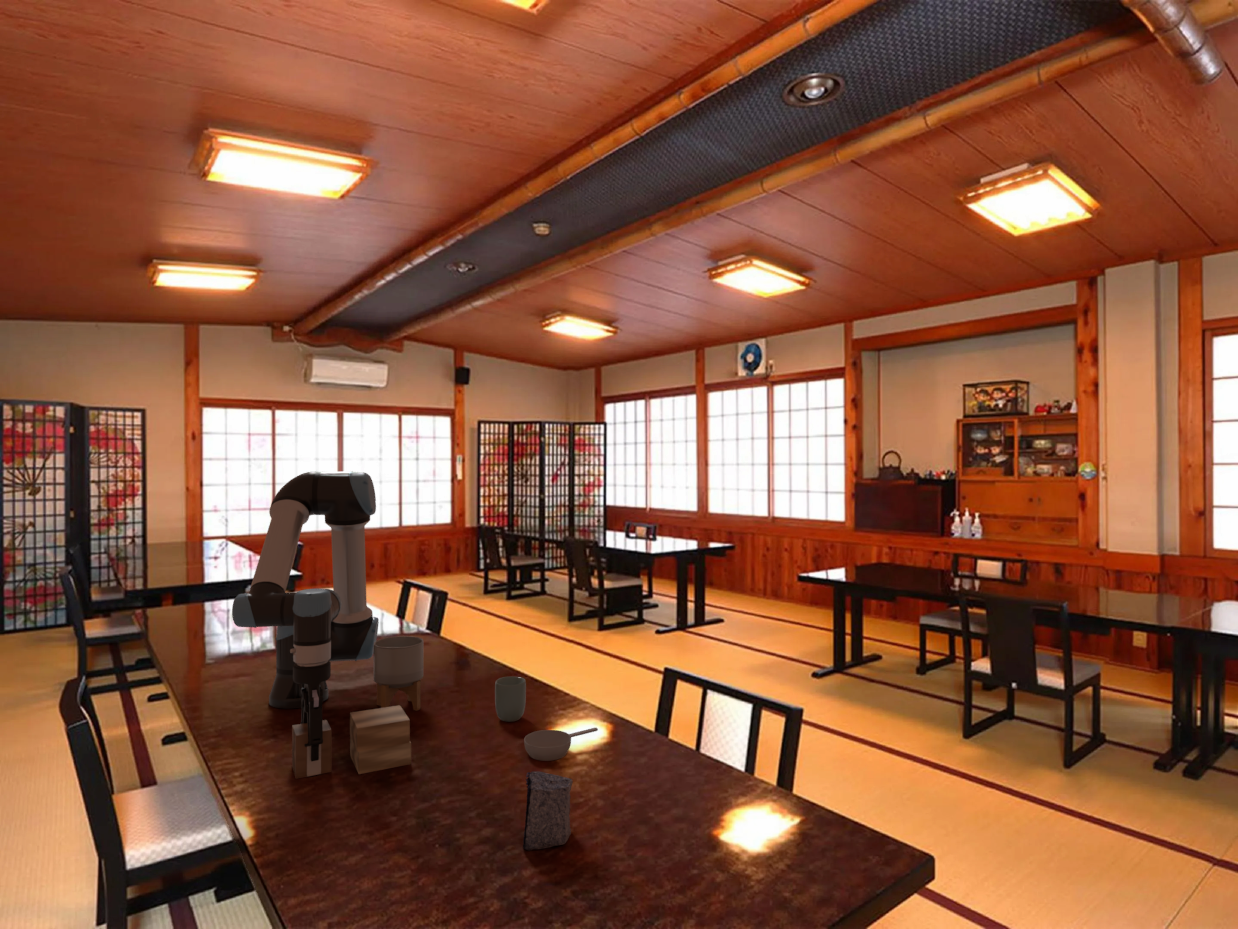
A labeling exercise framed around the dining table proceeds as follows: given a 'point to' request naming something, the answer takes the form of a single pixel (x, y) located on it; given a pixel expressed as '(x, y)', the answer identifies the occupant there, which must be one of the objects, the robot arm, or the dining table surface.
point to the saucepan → (550, 743)
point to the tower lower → (380, 757)
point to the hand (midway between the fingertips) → (311, 767)
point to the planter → (398, 668)
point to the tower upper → (379, 728)
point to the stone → (547, 810)
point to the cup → (510, 698)
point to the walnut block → (301, 751)
